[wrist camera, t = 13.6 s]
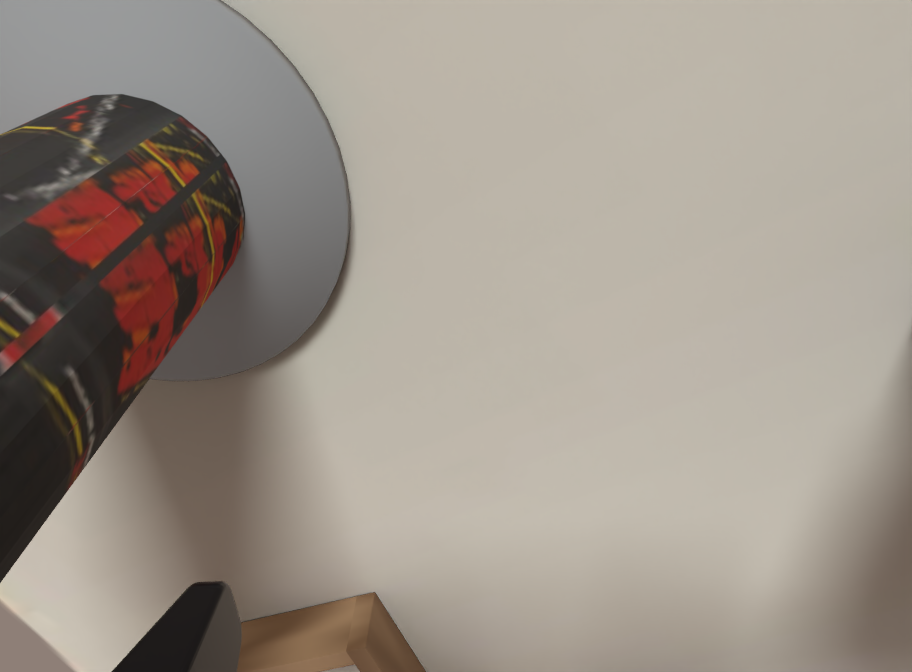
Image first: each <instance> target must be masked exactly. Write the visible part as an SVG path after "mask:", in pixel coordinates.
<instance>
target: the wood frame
mask: <svg viewBox="0 0 912 672" xmlns="http://www.w3.org/2000/svg"><path fill="white" fill-rule="evenodd" d="M241 628H242V640H241V648H240V655H239V661H238V667H237V672H320V671H325V670H330V669H334V668H339V667H344V666H349V665H354V664H355V665H356V666H357V668H358V669H359V671H360V672H426V671H425V670H424V668H423V667H422V665H421V664H420V662H419V660H418V659H417V657H416V656H415V654H414V653H413V651H412V650H411V648H410V646H409V645H408V643H407V642H406V640H405V639H404V637H403V635H402V634H401V632H400V631H399V629H398V628H397V626H396V625H395V623H394V621H393V620H392V618H391V617H390V615H389V614H388V612H387V610H386V609H385V607H384V606H383V604H382V603H381V601H380V600H379V598H378V596H377V595H376V593H375V592H373V593H369V594H365V595H360V596H356V597H352V598H347V599H343V600H338V601H334V602H330V603H325V604H321V605H317V606H312V607H308V608H303V609H299V610H295V611H290V612H286V613H282V614H277V615H273V616H268V617H264V618H260V619H255V620H251V621H247V622H242V623H241Z"/></svg>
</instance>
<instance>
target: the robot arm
mask: <svg viewBox="0 0 912 672" xmlns="http://www.w3.org/2000/svg"><path fill="white" fill-rule="evenodd" d="M241 640H242V628H241V622H240V619H239V615H238V612H237V608H236V605H235V601H234V598H233V594H232V591H231V588H230V586H229V585H228V584H227V583H226V582H223V581H215V582H197V583H194V584H192V585H191V586H190V587H188V588H187V589H186V590H185V592H184V593H183V594H182V595H181V596H180V597H179V598H178V599H177V600H176V601H175V603H174V604H173V605H172V606H171V607H170V608H169V609H168V610H167V611H166V613H165V614H164V615H163V616H162V617H161V618H160V619H159V620H158V621H157V622H156V624H155V625H154V626H153V627H152V628H151V629H150V630H149V631H148V632H147V633H146V635H145V636H144V637H143V638H142V639H141V640H140V641H139V642H138V643H137V644H136V646H135V647H134V648H133V649H132V650H131V651H130V652H129V653H128V654H127V656H126V657H125V658H124V659H123V660H122V661H121V662H120V663H119V664H118V665H117V667H116V668H115V669H114V670H113V671H112V672H237V667H238V661H239V655H240V648H241Z"/></svg>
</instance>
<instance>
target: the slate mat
mask: <svg viewBox="0 0 912 672" xmlns="http://www.w3.org/2000/svg"><path fill="white" fill-rule="evenodd" d="M109 94H124V95H129V96H133V97H137V98H141V99H146V100H150V101H154V102H156V103H158V104H160V105H162V106H164V107H166V108H168V109H170V110H172V111H173V112H175V113H177V114H179V115H181V116H183V117H184V118H185V119H187V120H188V121H189V122H190V123H192V124H193V125H194V126H195V127H196V128H198V129H199V130H200V131H201V132H203V133H204V134H205V135H206V136H207V137H208V138H209V139H210V140H211V142H212V143H213V144H214V145H215V147H216V148H217V149H218V150H219V152H220V153H221V154H222V155H223V157H224V158H225V159H226V161H227V162H228V164H229V166H230V168H231V171H232V173H233V175H234V177H235V179H236V181H237V183H238V185H239V188H240V191H241V196H242V201H243V206H244V211H245V226H244V239H243V242H242V245H241V247H240V250H239V252H238V255H237V257H236V260H235V262H234V263H233V265H232V266H231V267H230V269H229V270H228V272H227V273H226V274H225V276H224V277H223V278H222V280H221V281H220V283H219V284H218V285H217V287H216V288H215V289H214V291H213V292H212V294H211V295H210V296H209V298H208V299H207V300H206V302H205V303H204V304H203V306H202V307H201V309H200V310H199V311H198V313H197V314H196V315H195V317H194V318H193V320H192V321H191V322H190V324H189V325H188V326H187V328H186V329H185V331H184V332H183V333H182V335H181V336H180V337H179V339H178V340H177V341H176V343H175V344H174V346H173V347H172V348H171V350H170V351H169V352H168V354H167V355H166V357H165V358H164V359H163V361H162V362H161V363H160V365H159V366H158V367H157V369H156V370H155V372H154V373H153V374H152V376H151V377H150V378H149V379H155V380H166V381H198V380H205V379H213V378H220V377H224V376H228V375H231V374H235V373H239V372H242V371H245V370H247V369H250V368H252V367H255V366H257V365H260V364H262V363H264V362H266V361H267V360H269V359H271V358H273V357H274V356H276V355H278V354H280V353H281V352H282V351H284V350H285V349H286V348H288V347H289V346H290V345H291V344H293V343H294V342H295V341H296V340H298V339H299V338H300V337H301V336H302V335H303V333H304V332H305V331H306V330H307V329H308V328H309V327H310V326H311V325H312V324H313V323H314V321H315V320H316V318H317V317H318V315H319V314H320V313H321V311H322V310H323V308H324V307H325V305H326V303H327V301H328V299H329V297H330V295H331V293H332V291H333V289H334V287H335V285H336V282H337V280H338V277H339V275H340V272H341V269H342V265H343V262H344V259H345V255H346V252H347V245H348V238H349V232H350V197H349V190H348V182H347V175H346V171H345V167H344V163H343V160H342V156H341V152H340V148H339V146H338V143H337V141H336V138H335V136H334V133H333V131H332V128H331V126H330V123H329V121H328V119H327V117H326V115H325V113H324V111H323V110H322V108H321V106H320V104H319V102H318V100H317V99H316V97H315V95H314V93H313V92H312V90H311V89H310V87H309V86H308V84H307V83H306V82H305V80H304V79H303V77H302V76H301V75H300V73H299V72H298V70H297V69H296V68H295V66H294V65H293V64H292V63H291V62H290V60H289V59H288V58H287V57H286V56H285V55H284V54H283V53H282V52H281V50H280V49H279V48H278V47H277V46H276V45H275V44H274V43H273V42H272V40H270V39H269V38H268V37H267V36H266V35H265V34H264V33H263V32H261V31H260V30H259V29H258V28H257V27H256V26H255V25H253V24H252V23H251V22H250V21H249V20H248V19H247V18H246V17H244V16H243V15H241V14H240V13H238V12H237V11H236V10H234V9H233V8H231V7H230V6H228V5H227V4H226V3H224V2H223V1H221V0H0V134H2V133H5V132H7V131H9V130H11V129H13V128H16V127H18V126H20V125H22V124H24V123H27V122H29V121H31V120H33V119H35V118H37V117H40V116H42V115H44V114H46V113H48V112H51V111H53V110H55V109H57V108H59V107H62V106H64V105H66V104H68V103H71V102H74V101H77V100H80V99H83V98H86V97H89V96H92V95H109Z"/></svg>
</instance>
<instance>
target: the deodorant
mask: <svg viewBox="0 0 912 672" xmlns="http://www.w3.org/2000/svg"><path fill="white" fill-rule="evenodd" d="M244 226H245V211H244V206H243V201H242V196H241V191H240V188H239V185H238V183H237V181H236V179H235V177H234V175H233V173H232V171H231V168H230V166H229V164H228V162H227V161H226V159H225V158H224V157H223V155H222V154H221V153H220V152H219V150H218V149H217V148H216V147H215V145H214V144H213V143H212V142H211V140H210V139H209V138H208V137H207V136H206V135H205V134H204V133H203V132H201V131H200V130H199V129H198V128H196V127H195V126H194V125H193V124H192V123H190V122H189V121H188V120H187V119H185V118H184V117H183V116H181V115H179V114H177V113H175V112H173V111H172V110H170V109H168V108H166V107H164V106H162V105H160V104H158V103H156V102H154V101H150V100H146V99H141V98H137V97H133V96H129V95H124V94H109V95H92V96H89V97H86V98H83V99H80V100H77V101H74V102H71V103H68V104H66V105H64V106H62V107H59V108H57V109H55V110H53V111H51V112H48V113H46V114H44V115H42V116H40V117H37V118H35V119H33V120H31V121H29V122H27V123H24V124H22V125H20V126H18V127H16V128H13V129H11V130H9V131H7V132H5V133H2V134H0V583H1V581H2V580H3V578H4V577H5V576H6V574H7V573H8V572H9V570H10V569H11V567H12V566H13V565H14V563H15V562H16V561H17V559H18V558H19V557H20V555H21V554H22V552H23V551H24V550H25V548H26V547H27V546H28V544H29V543H30V541H31V540H32V539H33V537H34V536H35V535H36V533H37V532H38V530H39V529H40V528H41V526H42V525H43V524H44V522H45V521H46V520H47V518H48V517H49V515H50V514H51V513H52V511H53V510H54V509H55V507H56V506H57V504H58V503H59V502H60V500H61V499H62V498H63V496H64V495H65V493H66V492H67V491H68V489H69V488H70V487H71V485H72V484H73V483H74V481H75V480H76V478H77V477H78V476H79V474H80V473H81V472H82V470H83V469H84V467H85V466H86V465H87V463H88V462H89V461H90V459H91V458H92V457H93V455H94V454H95V452H96V451H97V450H98V448H99V447H100V446H101V444H102V443H103V441H104V440H105V439H106V437H107V436H108V435H109V433H110V432H111V430H112V429H113V428H114V426H115V425H116V424H117V422H118V421H119V420H120V418H121V417H122V415H123V414H124V413H125V411H126V410H127V409H128V407H129V406H130V404H131V403H132V402H133V400H134V399H135V398H136V396H137V395H138V394H139V392H140V391H141V389H142V388H143V387H144V385H145V384H146V383H147V381H148V380H149V378H150V377H151V376H152V374H153V373H154V372H155V370H156V369H157V367H158V366H159V365H160V363H161V362H162V361H163V359H164V358H165V357H166V355H167V354H168V352H169V351H170V350H171V348H172V347H173V346H174V344H175V343H176V341H177V340H178V339H179V337H180V336H181V335H182V333H183V332H184V331H185V329H186V328H187V326H188V325H189V324H190V322H191V321H192V320H193V318H194V317H195V315H196V314H197V313H198V311H199V310H200V309H201V307H202V306H203V304H204V303H205V302H206V300H207V299H208V298H209V296H210V295H211V294H212V292H213V291H214V289H215V288H216V287H217V285H218V284H219V283H220V281H221V280H222V278H223V277H224V276H225V274H226V273H227V272H228V270H229V269H230V267H231V266H232V265H233V263H234V262H235V260H236V257H237V255H238V252H239V250H240V247H241V245H242V242H243V239H244Z"/></svg>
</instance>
